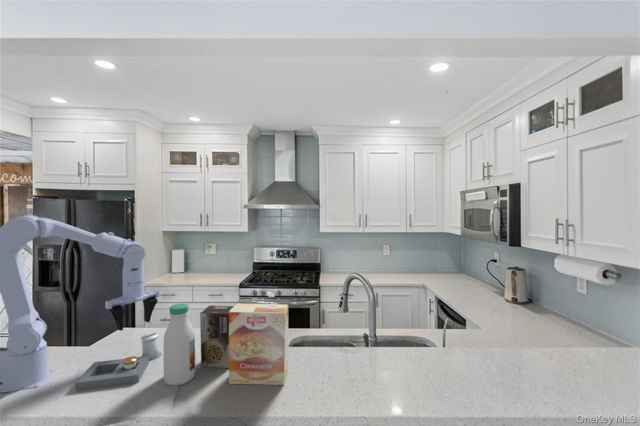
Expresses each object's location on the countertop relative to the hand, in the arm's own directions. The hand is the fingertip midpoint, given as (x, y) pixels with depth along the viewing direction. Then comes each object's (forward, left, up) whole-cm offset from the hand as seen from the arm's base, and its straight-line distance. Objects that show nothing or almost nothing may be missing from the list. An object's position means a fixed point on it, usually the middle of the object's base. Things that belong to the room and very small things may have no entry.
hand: (134, 325), depth 93 cm
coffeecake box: (+37, -21, -10) cm, 43 cm away
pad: (+5, -2, -10) cm, 11 cm away
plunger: (+2, -11, -9) cm, 14 cm away
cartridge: (+5, -2, -9) cm, 11 cm away
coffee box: (+26, -10, -10) cm, 29 cm away
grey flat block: (-1, -11, -10) cm, 15 cm away
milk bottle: (+16, -16, -10) cm, 24 cm away
